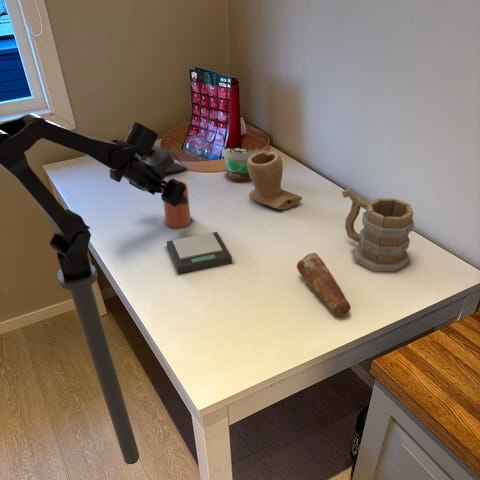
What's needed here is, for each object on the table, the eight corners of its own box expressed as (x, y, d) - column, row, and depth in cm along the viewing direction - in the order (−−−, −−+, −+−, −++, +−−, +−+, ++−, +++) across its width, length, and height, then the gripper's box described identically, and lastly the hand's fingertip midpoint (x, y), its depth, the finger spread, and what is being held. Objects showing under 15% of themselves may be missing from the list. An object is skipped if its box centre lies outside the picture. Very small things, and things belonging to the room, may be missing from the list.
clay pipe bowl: (239, 201, 148) (238, 153, 138) (265, 188, 154) (266, 142, 145) (276, 218, 140) (278, 168, 130) (302, 204, 146) (306, 155, 136)
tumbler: (169, 229, 137) (164, 193, 129) (164, 218, 142) (159, 182, 134) (193, 225, 138) (189, 189, 131) (187, 213, 143) (183, 178, 136)
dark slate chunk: (146, 181, 161) (144, 167, 157) (126, 158, 175) (124, 145, 172) (189, 171, 166) (187, 157, 163) (166, 149, 181) (164, 136, 177)
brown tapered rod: (318, 269, 121) (320, 250, 117) (353, 316, 107) (357, 296, 103) (294, 273, 119) (296, 254, 116) (327, 322, 105) (330, 302, 102)
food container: (217, 181, 159) (216, 151, 153) (223, 173, 164) (222, 144, 157) (254, 185, 156) (253, 155, 150) (259, 177, 161) (259, 147, 154)
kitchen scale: (178, 274, 120) (177, 265, 118) (167, 247, 130) (165, 239, 128) (231, 263, 123) (231, 254, 122) (217, 237, 133) (216, 229, 131)
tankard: (416, 258, 123) (429, 204, 113) (385, 278, 117) (397, 223, 107) (353, 228, 135) (361, 177, 125) (323, 245, 129) (328, 193, 119)
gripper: (176, 152, 116) (212, 180, 129) (130, 134, 126) (168, 161, 139) (154, 194, 117) (193, 218, 130) (110, 172, 127) (150, 196, 140)
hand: (176, 196), depth 135 cm, fingers open, 9 cm apart
